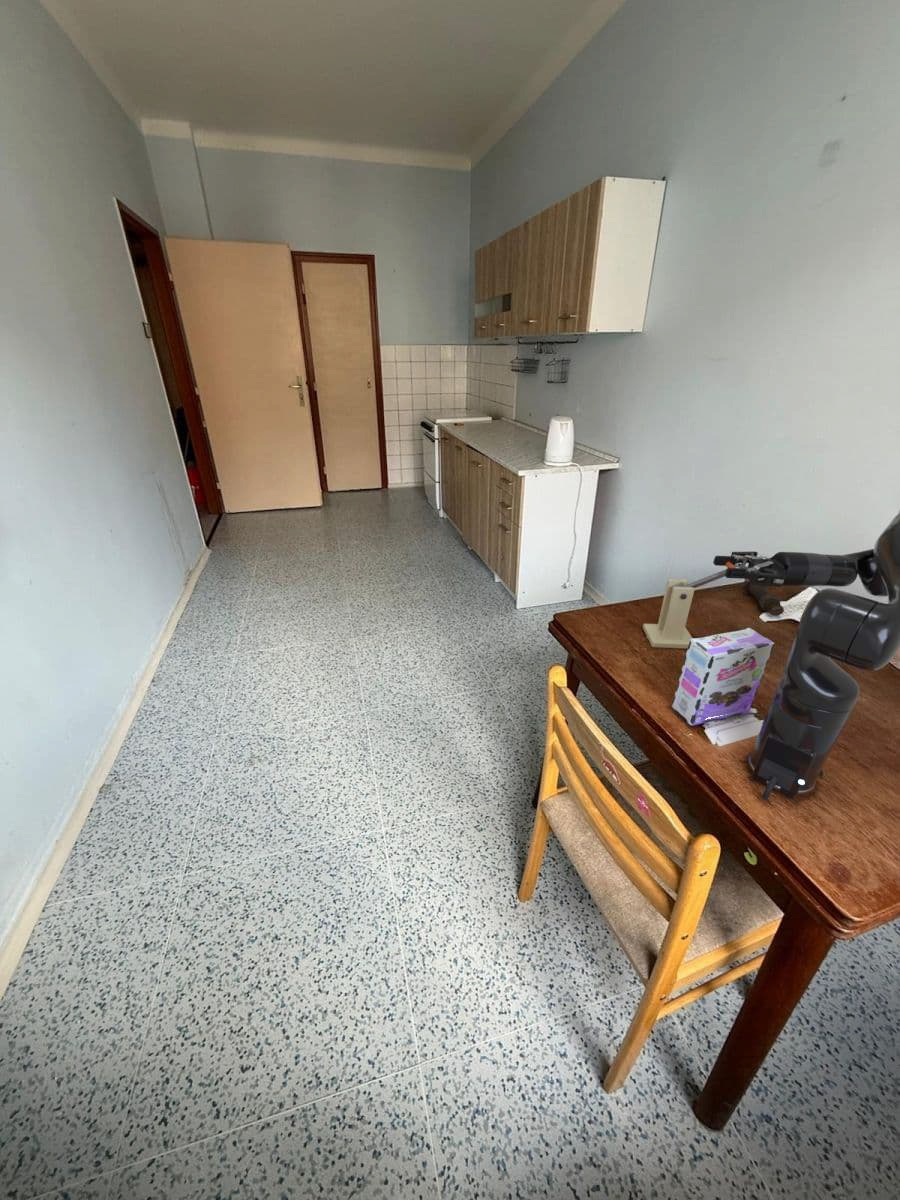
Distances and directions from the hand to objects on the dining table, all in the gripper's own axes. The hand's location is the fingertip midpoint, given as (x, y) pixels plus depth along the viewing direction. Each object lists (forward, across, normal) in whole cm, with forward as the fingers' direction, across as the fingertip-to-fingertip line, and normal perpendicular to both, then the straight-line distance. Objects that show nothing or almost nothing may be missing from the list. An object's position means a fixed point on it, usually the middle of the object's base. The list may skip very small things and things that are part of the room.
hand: (720, 566), depth 106 cm
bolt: (-23, -19, +19) cm, 36 cm away
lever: (+2, 0, +5) cm, 5 cm away
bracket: (+7, 0, +20) cm, 21 cm away
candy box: (+7, +26, +20) cm, 34 cm away
